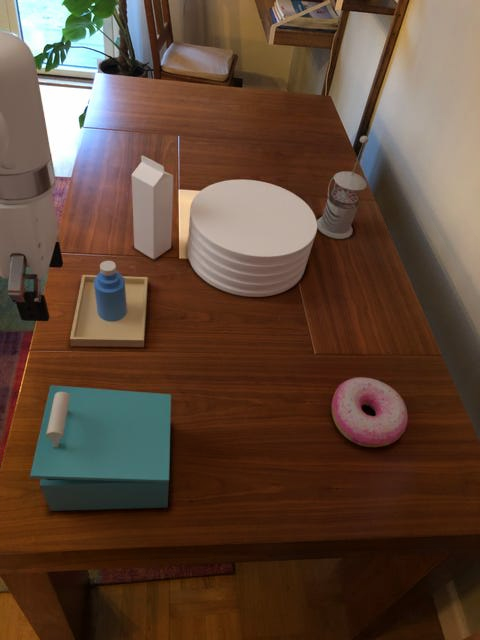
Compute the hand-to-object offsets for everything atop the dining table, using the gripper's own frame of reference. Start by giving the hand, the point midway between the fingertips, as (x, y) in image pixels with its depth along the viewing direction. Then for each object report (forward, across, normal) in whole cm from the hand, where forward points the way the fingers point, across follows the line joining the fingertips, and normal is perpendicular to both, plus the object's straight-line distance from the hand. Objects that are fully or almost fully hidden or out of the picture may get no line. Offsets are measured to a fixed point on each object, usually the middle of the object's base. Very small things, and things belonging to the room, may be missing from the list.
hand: (43, 291), depth 61 cm
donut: (+26, +3, +52) cm, 58 cm away
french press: (+26, -55, +58) cm, 84 cm away
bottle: (+26, -21, +5) cm, 33 cm away
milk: (+26, -42, +12) cm, 51 cm away
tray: (+26, -21, +5) cm, 34 cm away
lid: (+16, +11, +8) cm, 21 cm away
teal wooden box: (+26, +11, +8) cm, 30 cm away
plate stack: (+26, -41, +34) cm, 59 cm away
